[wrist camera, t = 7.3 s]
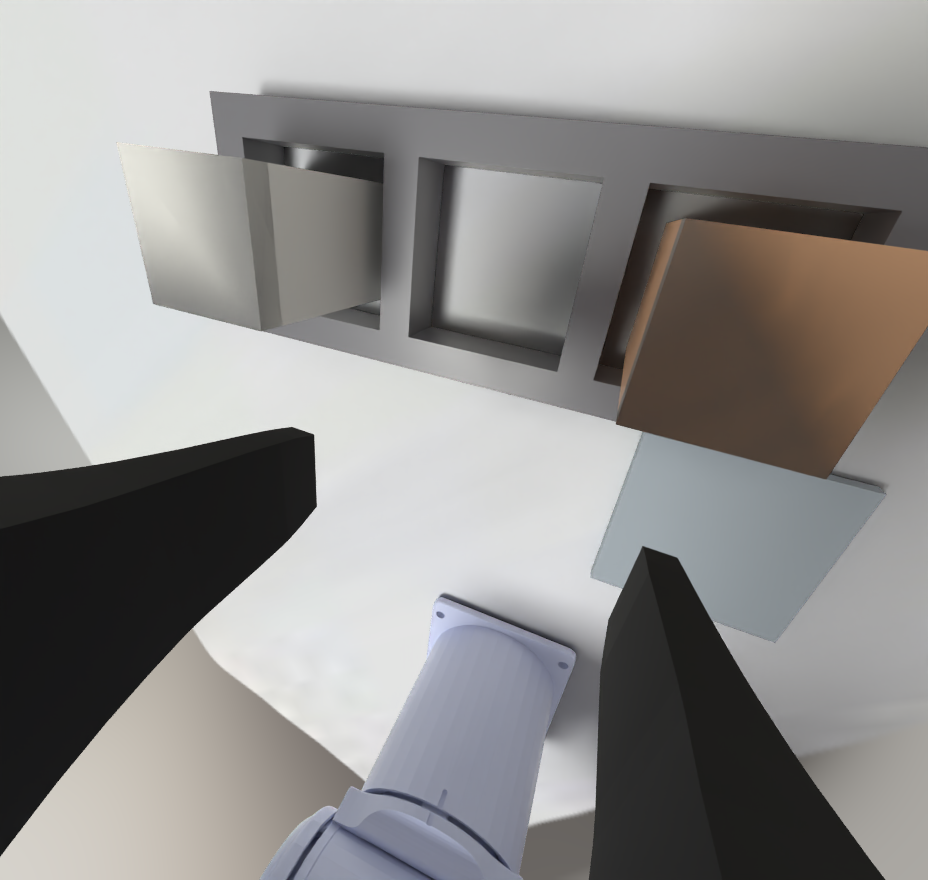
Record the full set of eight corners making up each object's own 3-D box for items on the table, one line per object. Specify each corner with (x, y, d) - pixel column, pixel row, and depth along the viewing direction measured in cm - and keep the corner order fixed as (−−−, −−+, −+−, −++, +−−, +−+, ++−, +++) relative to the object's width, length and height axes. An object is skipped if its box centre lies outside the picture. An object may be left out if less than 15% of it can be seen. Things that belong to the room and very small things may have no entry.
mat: (772, 633, 18) (774, 642, 17) (591, 570, 20) (590, 577, 19) (879, 486, 14) (886, 494, 14) (644, 427, 16) (644, 432, 16)
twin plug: (388, 297, 17) (261, 331, 12) (308, 280, 18) (153, 304, 13) (392, 184, 16) (241, 158, 10) (302, 173, 17) (116, 142, 11)
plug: (749, 375, 14) (826, 479, 8) (626, 348, 15) (615, 423, 9) (812, 243, 12) (973, 256, 6) (666, 223, 13) (685, 218, 7)
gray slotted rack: (789, 442, 14) (809, 471, 13) (274, 317, 20) (241, 325, 18) (948, 166, 11) (1006, 153, 9) (254, 105, 16) (209, 91, 14)
